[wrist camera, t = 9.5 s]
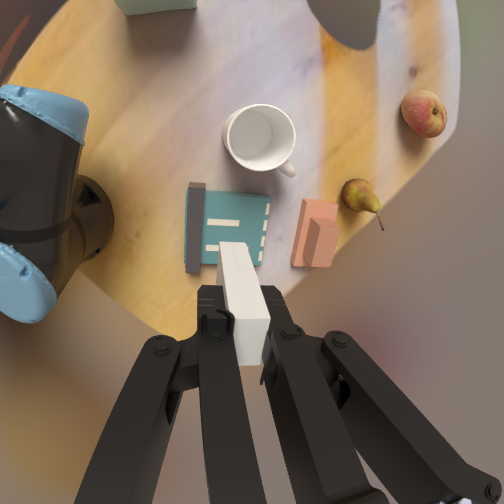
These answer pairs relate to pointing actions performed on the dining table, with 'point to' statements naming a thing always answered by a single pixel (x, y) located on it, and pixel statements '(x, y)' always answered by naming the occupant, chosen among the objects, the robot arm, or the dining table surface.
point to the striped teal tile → (232, 223)
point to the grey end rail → (194, 226)
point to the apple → (424, 113)
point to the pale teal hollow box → (153, 5)
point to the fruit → (360, 197)
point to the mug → (260, 138)
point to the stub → (315, 234)
